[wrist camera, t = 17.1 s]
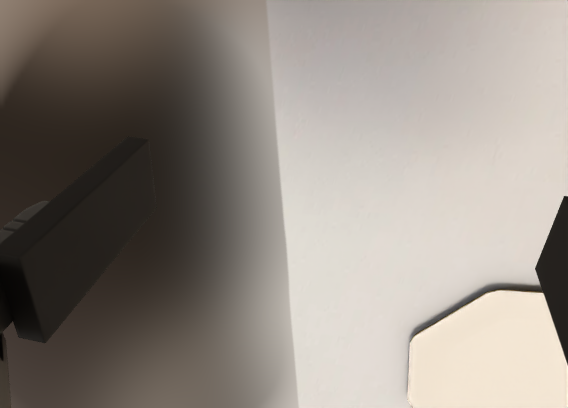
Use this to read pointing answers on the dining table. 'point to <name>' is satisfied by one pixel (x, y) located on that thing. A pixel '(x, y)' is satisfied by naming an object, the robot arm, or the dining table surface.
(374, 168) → the dining table surface
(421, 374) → the plate
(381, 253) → the dining table surface
